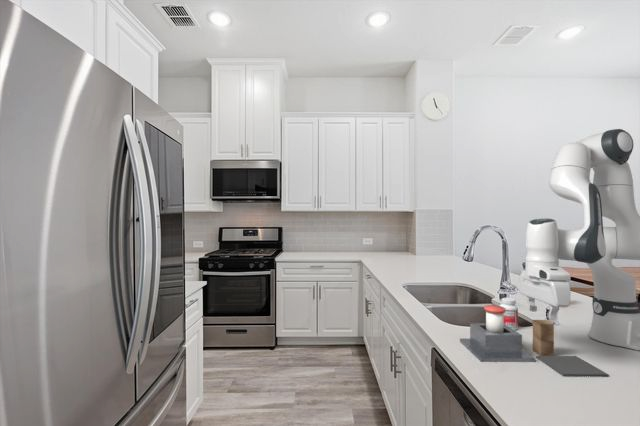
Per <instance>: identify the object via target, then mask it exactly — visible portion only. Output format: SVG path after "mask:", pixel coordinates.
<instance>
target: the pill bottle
mask: <svg viewBox="0 0 640 426" xmlns="http://www.w3.org/2000/svg"><path fill="white" fill-rule="evenodd" d="M499 306H501V307H504V308H505V313H504V324H505V325H506V326H508V327H510V328H511V329H513V330H515V331H517V330H518V329H519V319H518V318H519V309H518V306H517V303H516V299H515V298H512V297H503V298H501V304H499Z"/></svg>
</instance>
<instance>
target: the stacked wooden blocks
mask: <svg viewBox="0 0 640 426" xmlns="http://www.w3.org/2000/svg"><path fill="white" fill-rule="evenodd" d="M554 325H555V323H553V322H550V321H549V320H547V319H532V352H533V353H535V354H536V355H537V356H555V345H554V344H555V336H554V335H555V334H554V333H555V326H554Z"/></svg>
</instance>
